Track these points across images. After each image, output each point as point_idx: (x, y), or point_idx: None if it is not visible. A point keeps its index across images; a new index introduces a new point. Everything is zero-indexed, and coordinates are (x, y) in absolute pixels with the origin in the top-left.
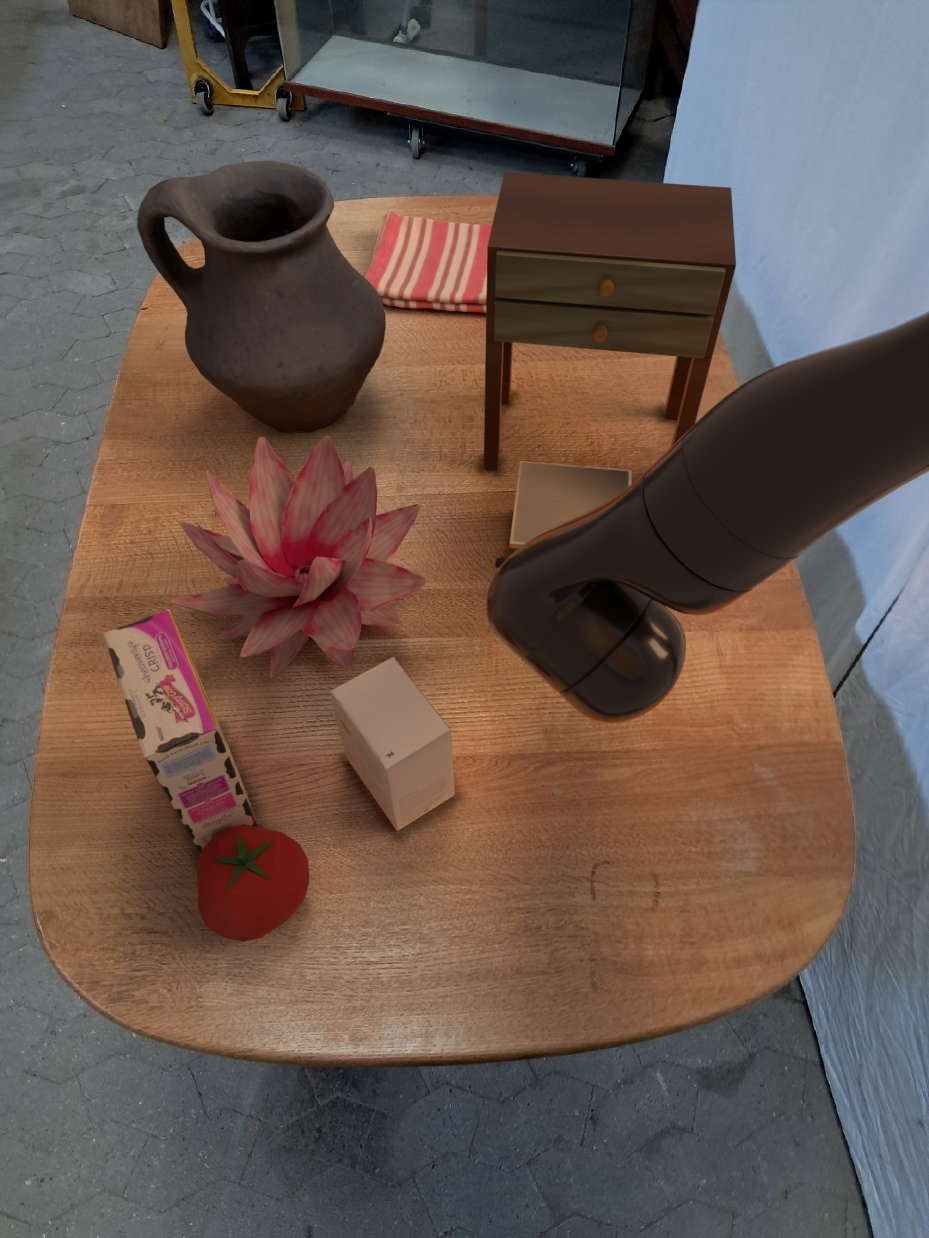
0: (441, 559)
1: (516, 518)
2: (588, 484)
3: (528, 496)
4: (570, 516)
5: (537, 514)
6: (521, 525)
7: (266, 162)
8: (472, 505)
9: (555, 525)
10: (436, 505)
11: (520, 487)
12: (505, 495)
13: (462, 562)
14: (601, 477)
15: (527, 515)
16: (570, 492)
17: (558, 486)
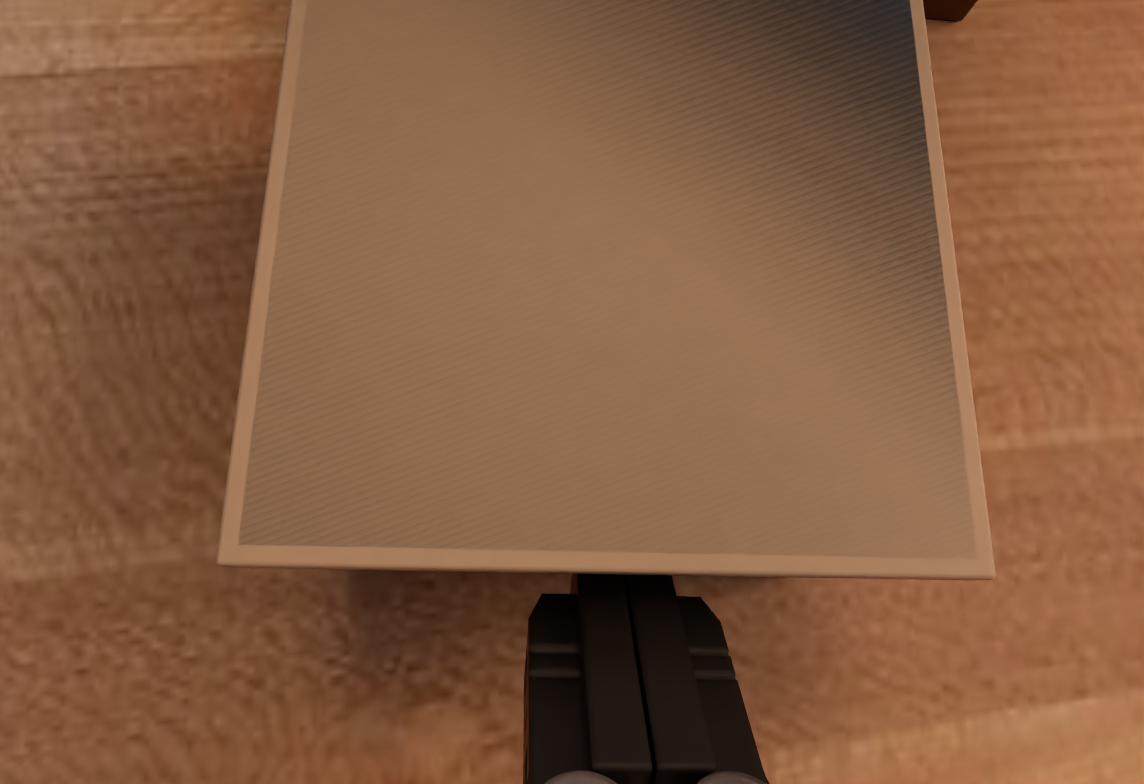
0: (43, 411)
1: (268, 341)
2: (702, 61)
3: (351, 160)
4: (613, 300)
5: (407, 299)
6: (300, 398)
7: None
8: (191, 124)
9: (523, 381)
10: (35, 130)
11: (301, 95)
12: None
13: (139, 421)
14: (768, 11)
15: (343, 309)
16: (604, 121)
17: (532, 80)
